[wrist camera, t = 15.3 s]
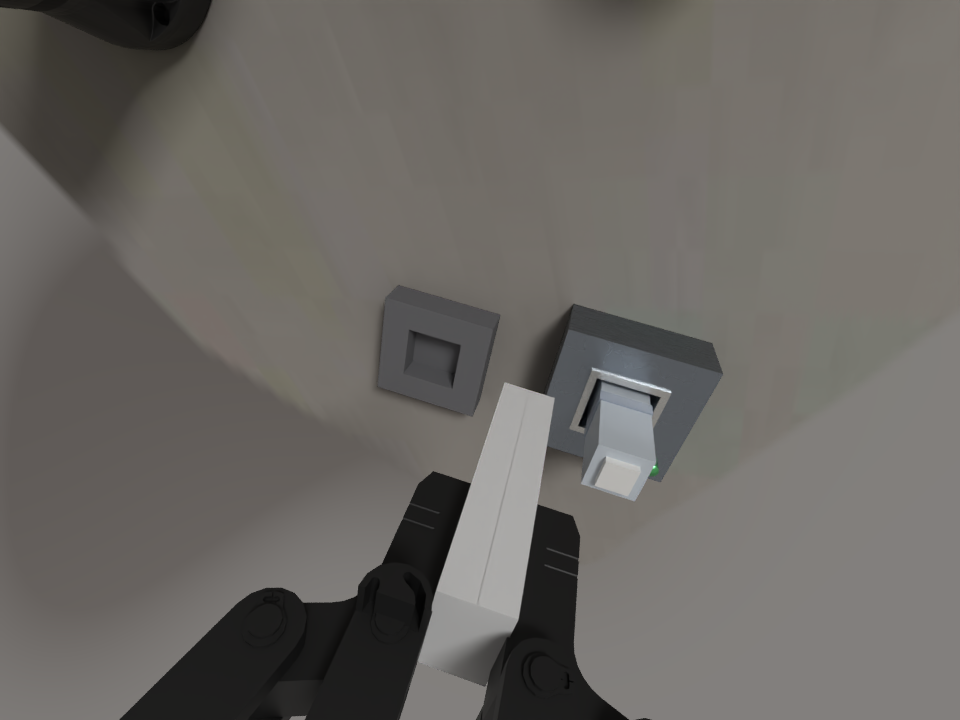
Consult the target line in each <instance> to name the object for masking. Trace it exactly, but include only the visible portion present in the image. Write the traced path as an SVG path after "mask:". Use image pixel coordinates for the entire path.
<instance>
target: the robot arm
mask: <svg viewBox="0 0 960 720" xmlns="http://www.w3.org/2000/svg"><path fill="white" fill-rule="evenodd" d="M209 3H210V0H0V7H2V8H12V9H24V10H32V11H39V12H43V13H45V14H47V15H49V16H52V17H54V18H56V19H58V20H60V21H63V22H65V23H67V24H69V25H71V26H73V27H76V28H78V29H80V30H82V31H84V32H87V33H89V34H91V35H93V36H95V37H98V38H100V39H102V40H104V41H106V42H109V43H112V44H115V45H118V46H121V47H126V48H132V49H145V50H166V49H170V48H173V47H176V46H178V45H180V44H182V43H183V42H185V41H186V40H187V39H189V38H190V37H191V36H192V35H193V34H194V33H195V31H196V30H197V29H198V27H199V26H200V24H201V23H202V21H203V19H204V17H205V14H206V12H207V9H208V6H209ZM554 399H555V398H553V397H550V396H547V395H544V394H540V393H537V392H534V391H531V390H527V389H524V388H521V387H518V386H515V385H511V384H508V383H504V386H503V389H502V392H501V395H500V398H499V401H498V404H497V407H496V410H495V413H494V416H493V419H492V422H491V426H490V429H489V432H488V435H487V438H486V441H485V444H484V447H483V450H482V453H481V456H480V459H479V462H478V465H477V468H476V471H475V474H474V477H473V480H472V483H471V484H470V483H467V482H464V481H461V480H458V479H455V478H452V477H449V476H446V475H443V474H440V473H437V472H434V471H433V472H432V473H431V474H430V475H428V476H427V477H426V478H425V479H424V480H423V481H421V482H420V483H419V484H418V486H417V488H416V490H415V493H414V495H413V497H412V499H411V502H410V504H409V506H408V508H407V510H406V512H405V515H404V517H403V520H402V521H401V523H400V526H399V528H398V530H397V532H396V534H395V536H394V539H393V541H392V543H391V545H390V548H389V550H388V552H387V554H386V556H385V558H384V561H383V563H382V565H380V566H378V567H376V568H375V569H373V570H372V571H370V572H369V573H367V575H366V576H365V577H364V579H363V580H362V581H361V583H360V584H359V586H358V595H357V596H356V597H354V598H351V599H348V600H345V601H341V602H332V603H303V602H302V601H301V600H300V599H299V598H298V596H297V595H296V594H295V593H293V592H291V591H288V590H286V589H283V588H265V589H262V590H259V591H256V592H254V593H251V594H250V595H248V596H247V597H246V598H244V599H243V600H241V601H240V602H239V603H237V604H236V605H235V606H234V607H233V608H232V609H231V610H230V611H229V612H228V613H227V614H226V615H225V616H224V617H223V618H222V619H221V620H220V621H219V622H218V623H217V624H216V625H215V626H214V627H213V628H212V629H211V630H210V631H209V632H208V633H207V634H206V635H205V636H204V637H203V638H202V639H201V640H200V641H199V642H198V643H197V644H196V645H195V646H194V647H193V648H192V649H191V650H190V651H188V652H187V653H186V654H185V656H183V658H181V660H179V661H178V662H177V663H176V664H175V665H174V666H173V667H172V668H171V669H170V670H169V671H168V672H167V673H166V674H165V675H164V676H163V677H162V678H161V679H160V680H159V681H158V682H157V683H156V684H155V685H154V686H153V687H152V688H151V689H150V690H149V691H148V692H147V693H146V694H145V695H144V696H143V697H142V698H141V699H140V700H139V701H138V702H137V703H136V704H135V705H134V706H133V707H132V708H131V709H130V710H129V711H128V712H127V713H126V714H125V715H124V716H123V717H122V718H121V719H120V720H289V719H290V718H291V717H292V716H306V719H305V720H399V719H400V716H401V712H402V710H403V707H404V703H405V700H406V697H407V694H408V690H409V687H410V683H411V680H412V677H413V674H414V671H415V668H416V665H417V662H419V663H422V664H425V665H427V666H430V667H432V668H435V669H438V670H441V671H444V672H446V673H449V674H452V675H454V676H457V677H460V678H463V679H466V680H468V681H471V682H474V683H477V684H479V685H482V686H486V684H487V682H488V685H487V690H486V695H485V701H484V705H483V707H482V709H481V711H480V713H479V715H478V717H477V719H476V720H629V719H627V718H626V717H625V716H623V715H622V714H621V713H620V712H618V711H617V710H616V709H615V708H613V707H612V706H611V705H609V704H608V703H607V702H606V701H604V700H603V699H602V698H601V697H599V696H598V695H597V694H596V693H595V692H594V691H593V690H592V689H591V688H590V686H589V685H588V684H587V682H586V681H585V679H584V678H583V676H582V674H581V672H580V670H579V668H578V665H577V662H576V658H575V654H574V629H575V612H576V597H577V580H578V579H577V575H578V564H579V561H578V558H579V547H580V535H579V532H578V529H577V526H576V524H575V521H574V518H573V516H571V515H568V514H565V513H562V512H559V511H556V510H553V509H550V508H547V507H544V506H541V505H538V504H537V503H538V497H539V491H540V485H541V479H542V473H543V466H544V460H545V454H546V448H547V442H548V436H549V430H550V424H551V417H552V411H553V405H554ZM637 720H650V719H646V718H643V719H637Z"/></svg>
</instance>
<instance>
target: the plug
mask: <svg viewBox="0 0 960 720" xmlns="http://www.w3.org/2000/svg"><path fill="white" fill-rule="evenodd" d="M652 416H653V407H652V405H650V395H649V394H648V393H645V392H642V391H638V390H635V389H632V388H628V387H625V386H622V385H618V384H615V383H612V382H608V381H605V380H601V379H598V378H597V380H596V382H595V385H594V387H593V390H592V392H591V395H590V397H589V400H588V411H587V422H586V426H585V429H584V438H585V444H584V455H583V466H582V477H581V484H583V485H586V486H589V487H592V488H595V489H598V490H601V491H605V492H608V493H611V494H614V495H617V496H620V497H623V498H626V499H629V500H632V501H635V500H636V498H637V496H638V494H639V493H640V491H641V489H642V487H643V485H644V484H645V482H646V480H647V478H648V476H649V475H650V473H651V471H652V469H653V467H654V466H655V464H656V455H655V445H654V435H653V425H652Z"/></svg>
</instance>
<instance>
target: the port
mask: <svg viewBox="0 0 960 720" xmlns="http://www.w3.org/2000/svg"><path fill="white" fill-rule="evenodd" d="M722 375H723V372H722V369H721V367H720V364H719V361H718V358H717V355H716V353H715V350H714V347H713V344H712V343H709V342H706V341H702V340H699V339H695V338H692V337H688V336H685V335H681V334H678V333H674V332H671V331H667V330H664V329H660V328H657V327H653V326H649V325H646V324H642V323H639V322H635V321H632V320H628V319H625V318H621V317H618V316H614V315H611V314H607V313H604V312H600V311H597V310H593V309H590V308H586V307H582V306H579V305H575V304H574V305H573V308H572V311H571V314H570V317H569V320H568V323H567V326H566V329H565V332H564V335H563V337H562V340H561V343H560V346H559V349H558V352H557V355H556V358H555V361H554V364H553V367H552V370H551V373H550V376H549V379H548V382H547V385H546V388H545V391H544V395H547V396H550V397H553V398H555V399H554V405H553V411H552V417H551V424H550V430H549V436H548V442H547V446H548V447H551V448H554V449H558V450H561V451H564V452H567V453H570V454H573V455H576V456H580V457H583V455H584V444H585V438H584V429H585V426H586V422H587V411H588V400H589V397H590V395H591V392H592V390H593V387H594V385H595V382H596V380H597V378H598V379H601V380H605V381H608V382H612V383H615V384H618V385H622V386H625V387H628V388H632V389H635V390H638V391H642V392H645V393H648V394H649V395H650V405H652V407H653V416H652V425H653V435H654V445H655V455H656V464H655V466H654V467H653V469H652V471H651V473H650V475H649V476H648V478H649V479H652V480H655V481H658V482H661V480H662V479H663V477H664V475H665V474H666V472H667V470H668V468H669V467H670V465H671V463H672V462H673V460H674V458H675V456H676V455H677V453H678V451H679V449H680V448H681V446H682V444H683V443H684V441H685V439H686V437H687V436H688V434H689V432H690V431H691V429H692V427H693V425H694V424H695V422H696V420H697V418H698V417H699V415H700V413H701V412H702V410H703V408H704V406H705V405H706V403H707V401H708V399H709V398H710V396H711V394H712V393H713V391H714V389H715V387H716V386H717V384H718V382H719V381H720V379H721V377H722Z"/></svg>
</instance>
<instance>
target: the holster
mask: <svg viewBox="0 0 960 720" xmlns="http://www.w3.org/2000/svg"><path fill="white" fill-rule="evenodd" d="M499 319H500V315H499V314H496V313H492V312H489V311H485V310H482V309H479V308H475V307H472V306H468V305H465V304H461V303H458V302H455V301H451V300H448V299H444V298H441V297H437V296H434V295H430V294H427V293H424V292H420V291H417V290H413V289H410V288H406V287H403V286H400V285H398V286H397V287H396V288H395V289H394V290H393V291H392V292H391V293H390V294H389V295H388V296H387V297H386V298H385V309H384V321H383V332H382V343H381V354H380V365H379V376H378V387H381V388H384V389H387V390H390V391H393V392H396V393H399V394H403V395H406V396H409V397H412V398H415V399H418V400H422V401H425V402H428V403H431V404H434V405H437V406H441V407H444V408H447V409H450V410H453V411H456V412H459V413H463V414H466V415H469V416H472V417H473V414H474V412H475V410H476V407H477V405H478V403H479V400H480V397H481V393H482V389H483V384H484V380H485V376H486V372H487V368H488V364H489V360H490V356H491V352H492V347H493V343H494V339H495V335H496V331H497V327H498V323H499Z"/></svg>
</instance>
